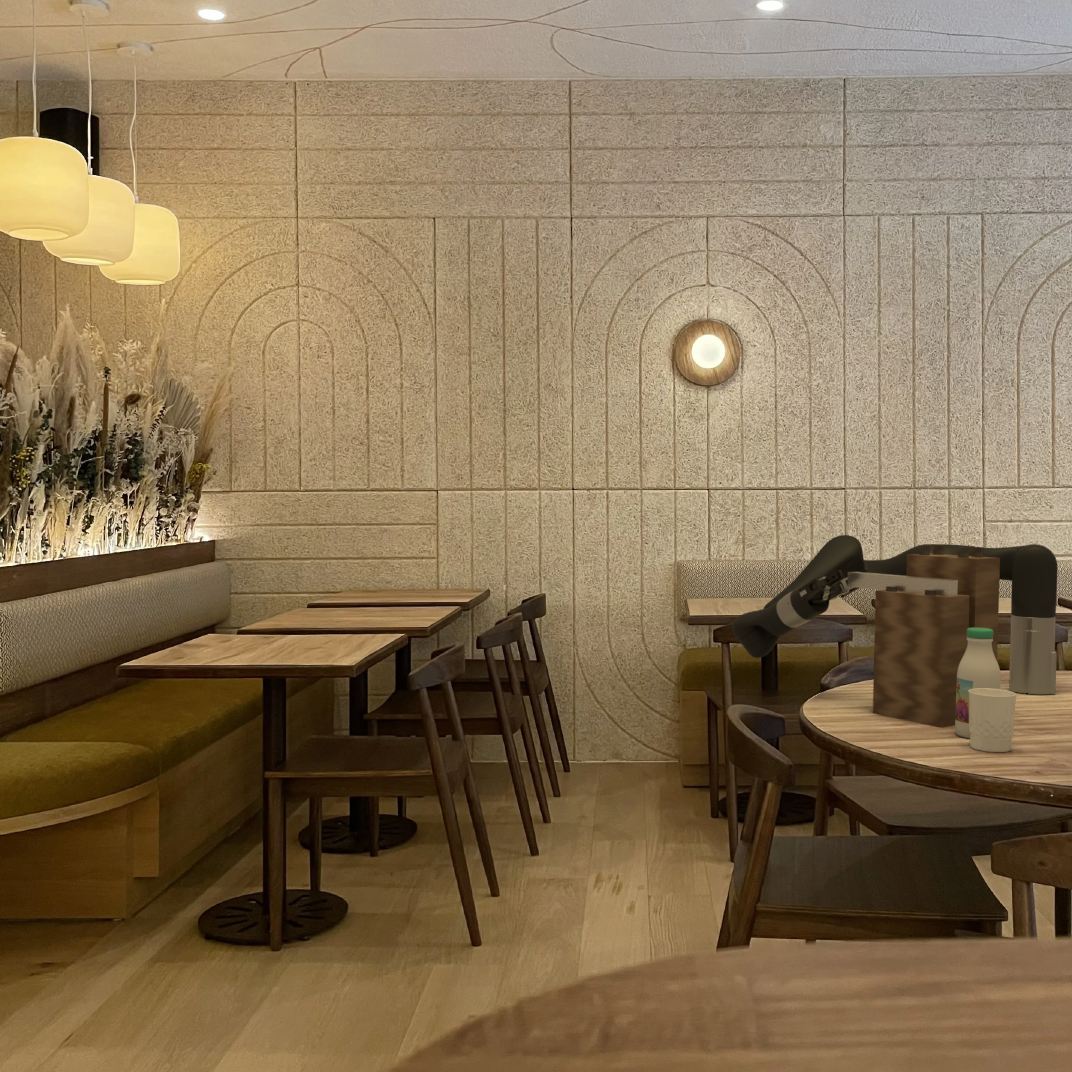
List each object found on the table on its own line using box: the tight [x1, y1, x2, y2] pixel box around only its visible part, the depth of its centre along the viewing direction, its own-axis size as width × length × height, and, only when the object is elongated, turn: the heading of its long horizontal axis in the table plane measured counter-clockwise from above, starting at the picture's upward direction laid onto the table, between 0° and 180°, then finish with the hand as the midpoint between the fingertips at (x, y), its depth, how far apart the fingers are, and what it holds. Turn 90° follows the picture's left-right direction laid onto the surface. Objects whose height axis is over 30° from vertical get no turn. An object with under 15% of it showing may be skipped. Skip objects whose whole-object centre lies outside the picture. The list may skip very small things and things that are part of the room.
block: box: [848, 572, 958, 596], centre depth 231 cm, size 24×3×3 cm, turn 36°
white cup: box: [968, 688, 1017, 753], centre depth 202 cm, size 8×8×10 cm
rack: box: [872, 544, 1000, 728], centre depth 230 cm, size 16×18×34 cm
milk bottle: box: [954, 628, 1002, 739], centre depth 211 cm, size 8×8×20 cm
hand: (855, 573), depth 240 cm, fingers open, 8 cm apart
